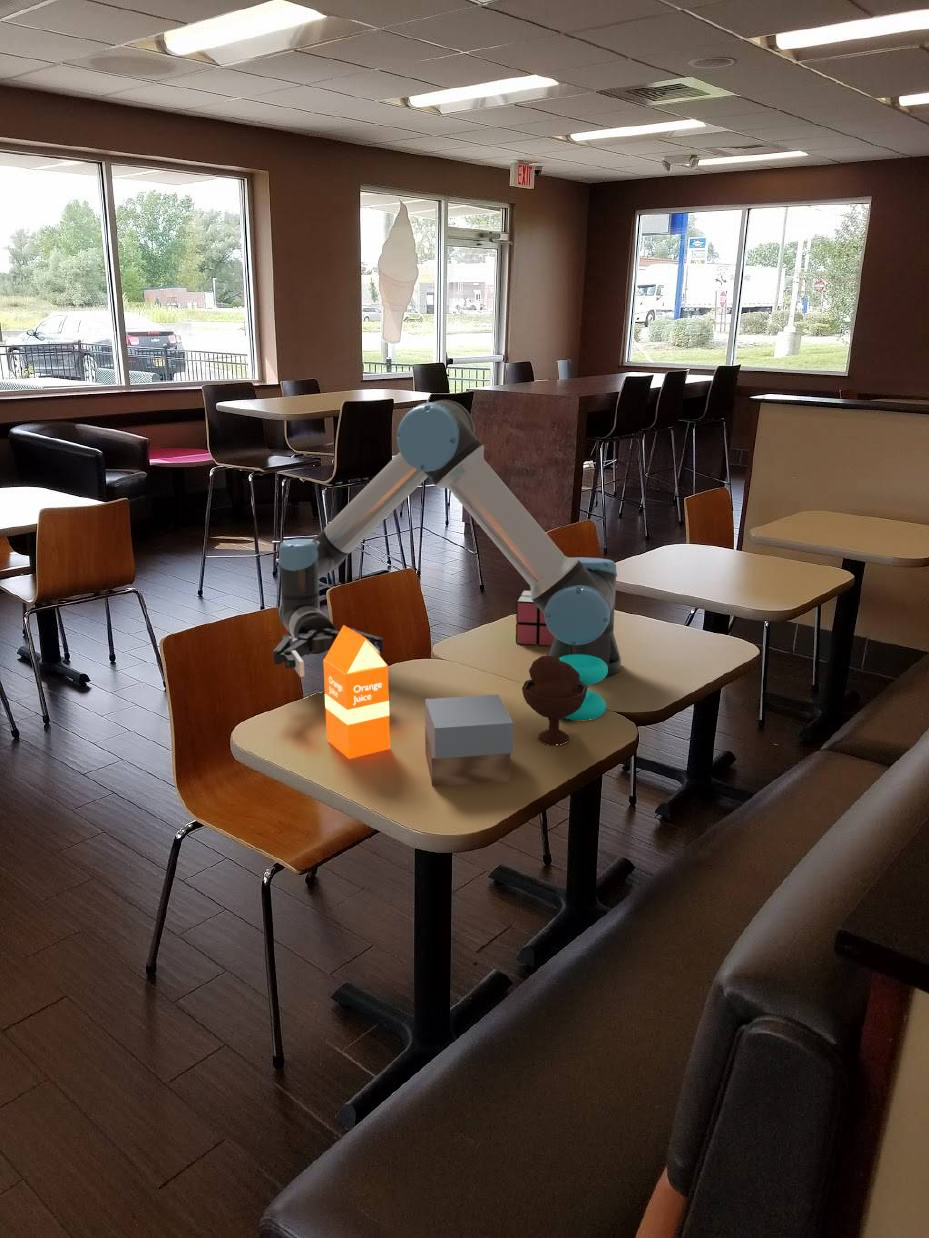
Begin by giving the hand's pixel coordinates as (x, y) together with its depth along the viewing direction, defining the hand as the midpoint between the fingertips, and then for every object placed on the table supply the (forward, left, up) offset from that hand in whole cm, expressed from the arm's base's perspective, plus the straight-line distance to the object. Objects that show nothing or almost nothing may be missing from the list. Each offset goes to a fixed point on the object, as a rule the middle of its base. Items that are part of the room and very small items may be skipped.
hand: (340, 664), depth 162 cm
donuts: (-43, 0, -11) cm, 44 cm away
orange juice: (-3, +9, -11) cm, 15 cm away
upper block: (-20, +20, -6) cm, 29 cm away
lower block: (-20, +20, -11) cm, 30 cm away
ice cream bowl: (-36, +11, -11) cm, 39 cm away
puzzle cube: (-45, -44, -11) cm, 63 cm away
